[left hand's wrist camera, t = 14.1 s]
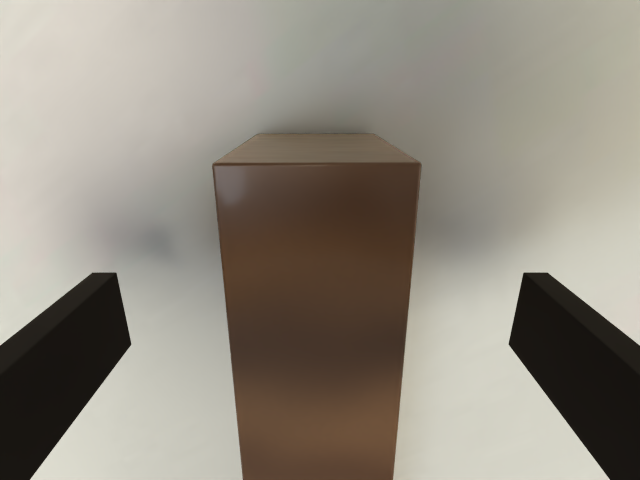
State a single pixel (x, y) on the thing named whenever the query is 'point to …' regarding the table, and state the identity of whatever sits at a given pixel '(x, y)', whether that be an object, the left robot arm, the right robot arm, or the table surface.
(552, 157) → the table surface
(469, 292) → the table surface
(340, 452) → the beam
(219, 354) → the table surface
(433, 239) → the table surface
